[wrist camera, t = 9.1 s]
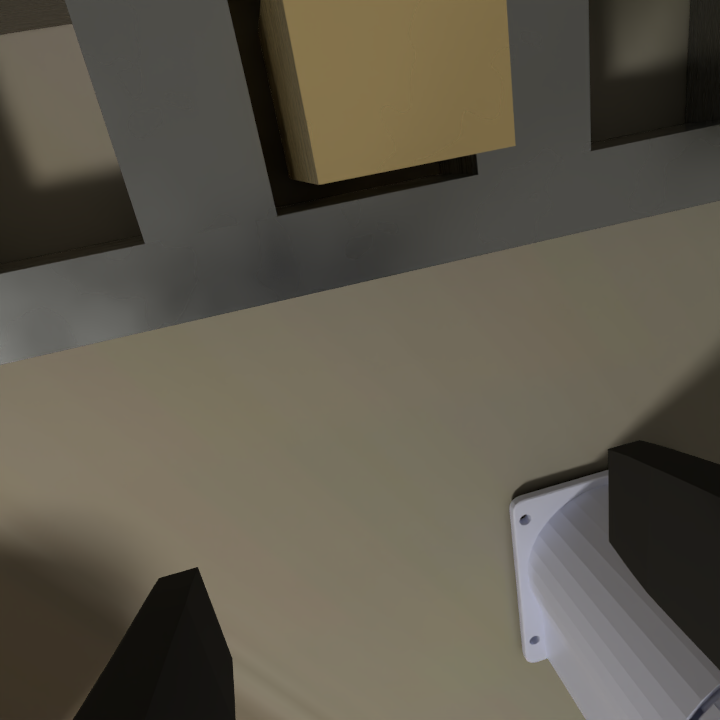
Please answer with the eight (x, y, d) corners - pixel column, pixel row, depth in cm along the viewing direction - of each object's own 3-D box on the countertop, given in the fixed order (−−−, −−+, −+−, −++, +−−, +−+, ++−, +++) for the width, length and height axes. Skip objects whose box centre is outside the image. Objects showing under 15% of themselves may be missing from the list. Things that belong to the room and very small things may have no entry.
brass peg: (412, 154, 17) (515, 145, 10) (289, 178, 16) (319, 184, 10) (393, 9, 15) (499, -104, 9) (257, 31, 15) (267, -74, 9)
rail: (735, 177, 19) (816, 178, 17) (-77, 358, 16) (-144, 397, 13) (762, -172, 16) (872, -244, 13) (-285, -37, 12) (-437, -96, 10)
